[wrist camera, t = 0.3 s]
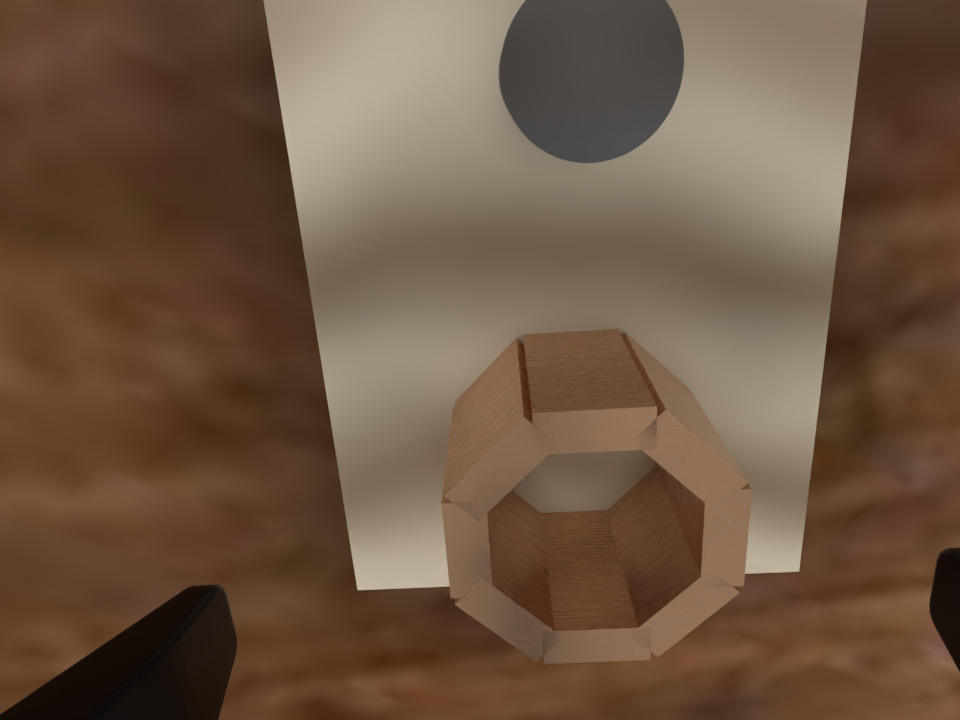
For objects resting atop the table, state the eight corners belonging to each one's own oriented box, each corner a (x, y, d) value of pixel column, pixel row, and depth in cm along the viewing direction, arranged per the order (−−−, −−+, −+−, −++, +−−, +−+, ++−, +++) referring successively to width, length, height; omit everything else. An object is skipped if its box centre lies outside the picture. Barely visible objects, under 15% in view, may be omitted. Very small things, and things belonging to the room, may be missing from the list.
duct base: (780, 542, 24) (880, 701, 17) (365, 560, 24) (322, 720, 18) (857, -181, 16) (1072, -338, 10) (260, -130, 17) (130, -250, 11)
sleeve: (685, 533, 22) (737, 656, 17) (465, 544, 22) (457, 667, 17) (695, 324, 19) (759, 401, 15) (447, 338, 20) (433, 418, 15)
